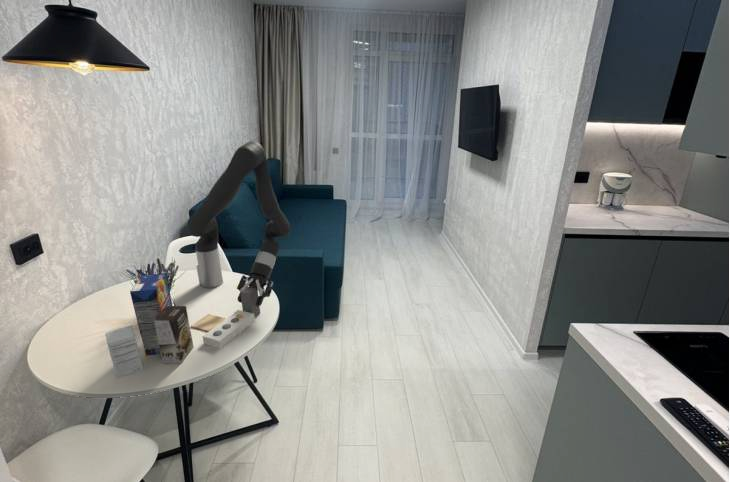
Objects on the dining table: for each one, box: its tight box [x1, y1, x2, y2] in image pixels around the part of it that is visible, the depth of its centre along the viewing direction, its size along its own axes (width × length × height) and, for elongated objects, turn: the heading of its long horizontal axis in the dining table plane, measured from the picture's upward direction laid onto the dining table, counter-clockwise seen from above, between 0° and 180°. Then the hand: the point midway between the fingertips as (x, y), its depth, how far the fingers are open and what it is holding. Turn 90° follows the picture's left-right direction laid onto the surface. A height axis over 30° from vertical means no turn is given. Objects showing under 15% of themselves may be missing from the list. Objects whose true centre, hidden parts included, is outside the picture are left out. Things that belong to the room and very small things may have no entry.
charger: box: [239, 286, 261, 318], centre depth 148 cm, size 4×7×11 cm
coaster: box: [190, 313, 227, 333], centre depth 145 cm, size 9×9×1 cm
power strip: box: [202, 309, 256, 349], centre depth 139 cm, size 8×18×4 cm, turn 158°
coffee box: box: [154, 305, 194, 365], centre depth 124 cm, size 9×6×16 cm
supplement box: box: [105, 325, 144, 378], centre depth 119 cm, size 7×7×13 cm
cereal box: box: [129, 272, 173, 357], centre depth 129 cm, size 12×8×24 cm, turn 13°
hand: (248, 304), depth 147 cm, fingers open, 8 cm apart
